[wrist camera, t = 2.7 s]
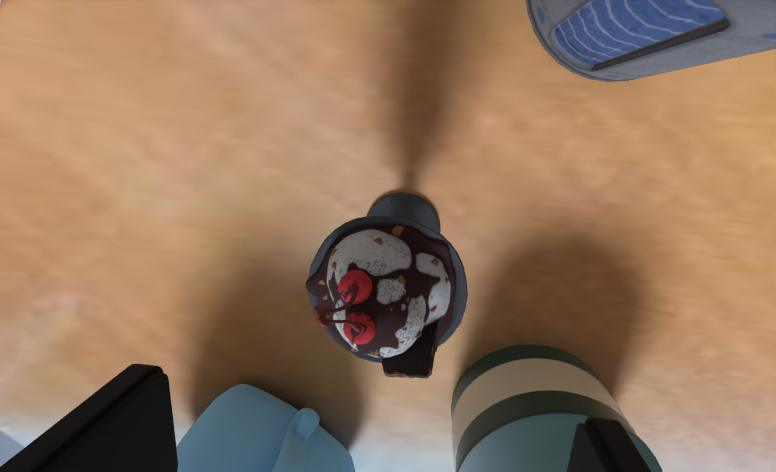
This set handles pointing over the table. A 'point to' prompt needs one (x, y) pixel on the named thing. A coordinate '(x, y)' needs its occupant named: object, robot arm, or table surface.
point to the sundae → (390, 286)
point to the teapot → (259, 437)
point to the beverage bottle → (650, 34)
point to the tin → (528, 411)
